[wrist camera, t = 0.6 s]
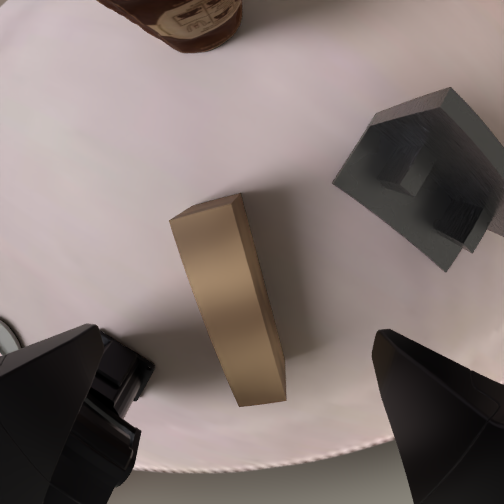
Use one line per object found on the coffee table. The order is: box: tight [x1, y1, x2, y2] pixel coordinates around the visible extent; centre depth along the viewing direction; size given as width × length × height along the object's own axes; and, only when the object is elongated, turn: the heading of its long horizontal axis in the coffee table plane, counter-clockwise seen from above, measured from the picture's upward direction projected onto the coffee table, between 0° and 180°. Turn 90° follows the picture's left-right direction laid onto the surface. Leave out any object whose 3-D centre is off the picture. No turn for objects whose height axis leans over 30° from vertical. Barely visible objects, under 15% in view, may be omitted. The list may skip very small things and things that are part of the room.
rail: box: [169, 193, 287, 407], centre depth 19 cm, size 14×4×5 cm, turn 15°
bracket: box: [332, 87, 504, 272], centre depth 14 cm, size 6×12×9 cm, turn 59°
